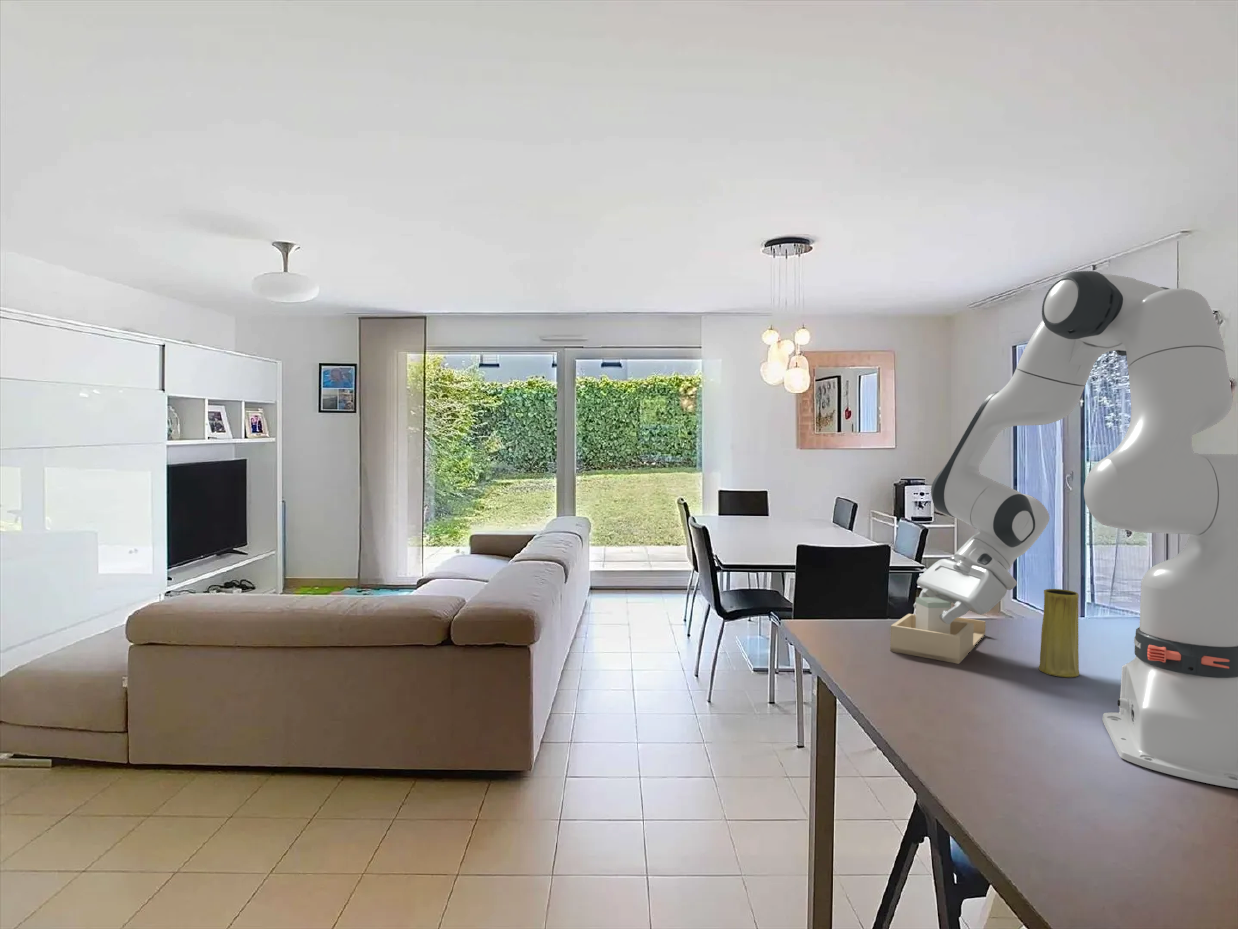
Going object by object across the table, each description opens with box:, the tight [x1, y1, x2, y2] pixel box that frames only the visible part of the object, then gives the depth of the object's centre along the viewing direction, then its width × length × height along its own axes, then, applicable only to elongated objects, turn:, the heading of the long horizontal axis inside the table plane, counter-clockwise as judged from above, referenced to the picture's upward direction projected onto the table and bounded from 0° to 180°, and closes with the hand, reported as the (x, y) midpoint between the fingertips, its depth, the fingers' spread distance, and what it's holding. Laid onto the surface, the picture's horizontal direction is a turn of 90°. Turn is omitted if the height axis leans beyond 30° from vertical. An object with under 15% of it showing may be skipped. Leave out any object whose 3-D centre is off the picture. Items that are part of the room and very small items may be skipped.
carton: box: [915, 596, 952, 634], centre depth 137 cm, size 4×4×9 cm
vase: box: [1038, 588, 1080, 679], centre depth 124 cm, size 6×6×14 cm
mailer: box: [889, 613, 987, 665], centre depth 142 cm, size 24×12×5 cm, turn 143°
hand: (929, 615), depth 137 cm, fingers open, 8 cm apart
